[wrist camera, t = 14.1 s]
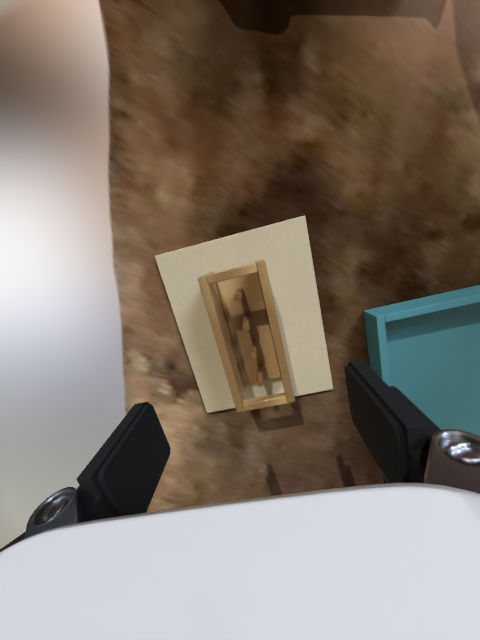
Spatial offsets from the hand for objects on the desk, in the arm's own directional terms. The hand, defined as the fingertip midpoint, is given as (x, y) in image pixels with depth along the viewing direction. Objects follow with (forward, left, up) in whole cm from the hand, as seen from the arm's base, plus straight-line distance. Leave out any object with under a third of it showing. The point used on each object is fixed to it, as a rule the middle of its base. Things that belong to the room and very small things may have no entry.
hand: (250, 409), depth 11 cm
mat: (0, +1, -16) cm, 16 cm away
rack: (0, +1, -16) cm, 16 cm away
